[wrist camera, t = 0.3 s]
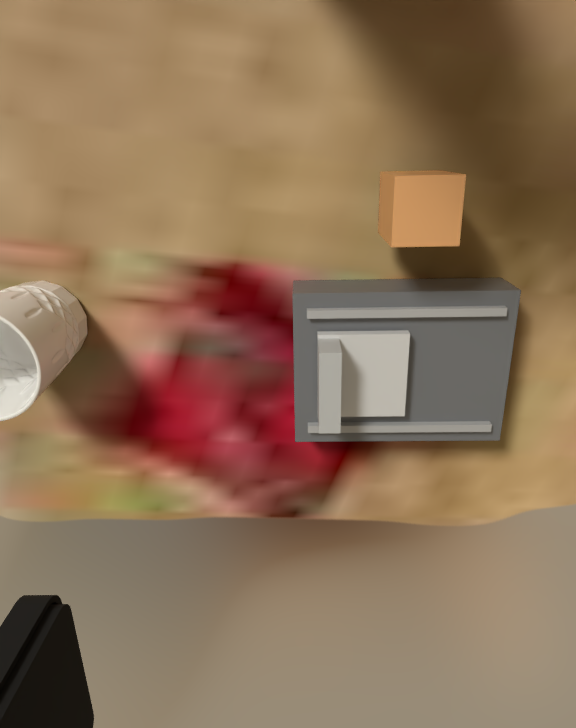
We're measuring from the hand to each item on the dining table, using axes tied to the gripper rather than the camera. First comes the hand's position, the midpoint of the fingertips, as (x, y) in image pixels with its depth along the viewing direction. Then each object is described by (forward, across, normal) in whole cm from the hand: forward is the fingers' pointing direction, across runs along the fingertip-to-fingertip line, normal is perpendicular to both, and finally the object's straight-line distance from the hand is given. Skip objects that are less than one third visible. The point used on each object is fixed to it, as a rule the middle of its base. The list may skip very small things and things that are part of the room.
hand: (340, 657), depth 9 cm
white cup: (+35, +21, +3) cm, 41 cm away
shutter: (+31, -4, +7) cm, 32 cm away
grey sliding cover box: (+35, -7, +7) cm, 36 cm away
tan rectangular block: (+35, -7, -5) cm, 36 cm away
